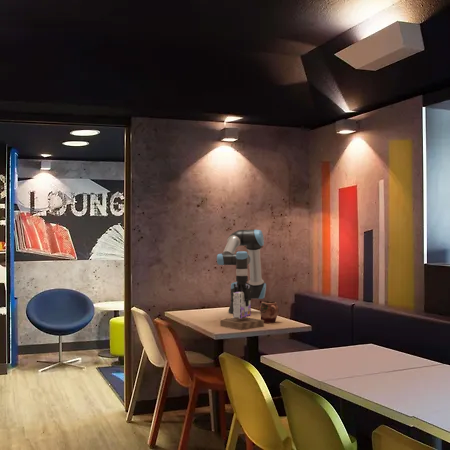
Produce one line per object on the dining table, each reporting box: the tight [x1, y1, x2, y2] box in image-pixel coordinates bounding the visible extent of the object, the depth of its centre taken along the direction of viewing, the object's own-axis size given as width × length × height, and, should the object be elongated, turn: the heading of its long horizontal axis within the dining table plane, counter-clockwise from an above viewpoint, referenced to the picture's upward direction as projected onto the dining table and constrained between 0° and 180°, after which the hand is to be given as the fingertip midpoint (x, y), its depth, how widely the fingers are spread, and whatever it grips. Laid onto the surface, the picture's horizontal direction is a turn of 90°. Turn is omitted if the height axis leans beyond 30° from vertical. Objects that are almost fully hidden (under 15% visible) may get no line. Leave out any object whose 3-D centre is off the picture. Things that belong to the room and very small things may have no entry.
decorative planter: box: [258, 300, 280, 324], centre depth 406 cm, size 20×12×14 cm, turn 26°
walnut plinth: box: [219, 316, 265, 331], centre depth 391 cm, size 20×20×4 cm
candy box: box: [232, 291, 252, 319], centre depth 391 cm, size 14×6×16 cm, turn 149°
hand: (242, 310), depth 391 cm, fingers closed on candy box, 7 cm apart
